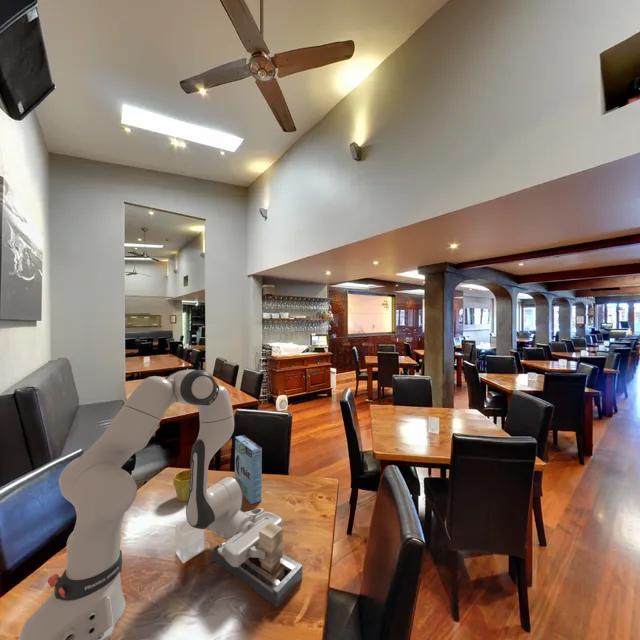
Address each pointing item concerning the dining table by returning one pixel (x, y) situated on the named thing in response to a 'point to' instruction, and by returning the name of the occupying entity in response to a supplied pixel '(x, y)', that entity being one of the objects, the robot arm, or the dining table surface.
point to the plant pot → (182, 484)
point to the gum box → (248, 468)
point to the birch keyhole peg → (272, 550)
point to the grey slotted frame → (265, 577)
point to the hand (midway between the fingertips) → (273, 548)
